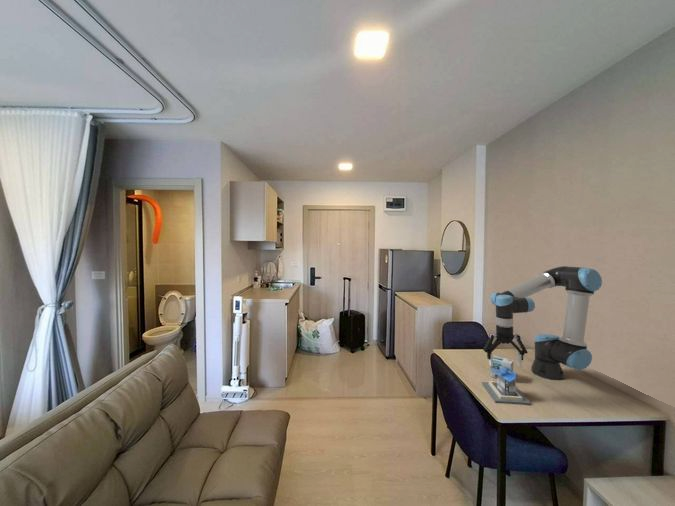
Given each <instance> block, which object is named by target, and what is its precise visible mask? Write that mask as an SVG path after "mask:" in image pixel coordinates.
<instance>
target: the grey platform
mask: <svg viewBox="0 0 675 506" xmlns="http://www.w3.org/2000/svg"><path fill="white" fill-rule="evenodd" d="M481 385H482V386H483V388H484V389H485V390H486V392H487V394H488V395H489V396H490V398H491V399H492V400H493V401H494V403H495V404H496V403H497V404H507V403H508V405H525V406H531V405H532V403H531V401H530V400H529V399H528V398H527V397H526V396H525V395H524V394H523V393H522V392H521V391H520V389H518V387H516V396H506V395H505V394H503V393H502V392H501V391H500V390H498V389H497V381H494V380H493V381H492V380H489V381H488V382H484V381H481Z"/></svg>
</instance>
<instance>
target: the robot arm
mask: <svg viewBox="0 0 675 506" xmlns="http://www.w3.org/2000/svg"><path fill="white" fill-rule="evenodd" d="M602 284H603V280H602V276H601V274H600V273H599V272H598V270H596V269H593V268H590V267H578V266H568V265H567V266H566V265H564V266H558V267H553V268H551V269H548V270H545V271H543V272H541V273H539V275H538V276H537V277H535V278H532V279H530V280H527V281H525V282H523V283H520V284H518V285H516V286H514V287H512V288H510V289H507V290H505V291H503V292H501V293H500V292H494V293H492V294H491V295H490V303H491V304H492V305H494V306H495V324H496V325H495V332H496V333H495V334H493V333H489V337H488V339H487V341H486V343H485V344H484V347H483V348H482V350H483V351H484V353H486V357H487V359H488V363H489V365H490V367H491V366H493V356H494V354H493V353H492V352H493V351H494V350H495V349H496V348H497V347H498V346H499V345H501V344H502V345H504V344H511V345H512V346H513V347H514V348H515V350H516V351H517V353H516V357H517V358H516V359H517V360H516V361H517V362H516V363H517V364H516V365H517V366H518V367H519V368H522V361H524V356H525V355H526V354H528V351H527V348H526V347H525V344H523V342H522V339H521V336H520V334H518V333H515V334H514V327H513V326H514V314H521V313H522V314H523V313H525V314H526V313H531V312H533V311H534V310H535V308H536V303H535V302H534V300H533V299H532V298H531V297H530V296H532V295H534V294H537V293H538V292H541V291H542V290H545V289H547V288H548V289H552V288H555V287H564V289H565V292H566V293H567V302H566V310H565V318H564V326H563V332H562V336H561V337H560V336H558V335H557V334H556V335H555V334H549V333H542V334H541V333H539V334H536V335H535V336H534V359H533V361H532V365H531V369H530V370H531V372H532V373H533V374H534V375H536V376H538V377H541V378H544V379H549V380H556V381H557V380H562V379H564V371H563V368H562V366H561V364H562V365H564V366H566V367H568V368H571V369H574V370H577V371H581V370H584V369H586V368H588V367H589V366H590V365H591V363H592V361H593V355H592V353H591V351H589V350H588V349H587V348H588V345H587V343H586V342H585V333H586V326H587V319H588V311H589V303H590V298H591V297H592V296H594V295H595V292H597V291H599V290H600V289H601V287H602ZM495 338H496V339H495ZM513 339H515V340H516V342H517V343H518V345H519V347H520V348H519V347H518V345H517V344H516V343H515V342H514V341H513Z"/></svg>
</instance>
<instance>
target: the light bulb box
mask: <svg viewBox="0 0 675 506" xmlns="http://www.w3.org/2000/svg"><path fill="white" fill-rule="evenodd" d="M504 366H505V367H506V368H508V369H510V370H511V371H513V372H514V360H513V359H510V358H505V357H501V356H497V355H493V366H490V378H493V379H494V378H495V379H497V374H498V373H500V372H501V371H503V369H504ZM508 372H509V373H510V374H512V373H511V372H510V371H508Z"/></svg>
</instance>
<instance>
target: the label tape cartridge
mask: <svg viewBox="0 0 675 506" xmlns="http://www.w3.org/2000/svg"><path fill="white" fill-rule="evenodd" d="M508 371H510V372H511V373H512V374H510V373H509V372H508ZM516 376H517V373H516V372H514V370H513V371H511V370H510V369H508V368H506V367H505V366H504V369H503V371H501V372H500V373H498V374H497V378H496V379H497V380H496V382H497V389H498V390H500V391H501V392H502V393H503V394H505V395H506V396H516V388H517V385H516V384H517V383H516V382H517V377H516Z"/></svg>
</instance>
